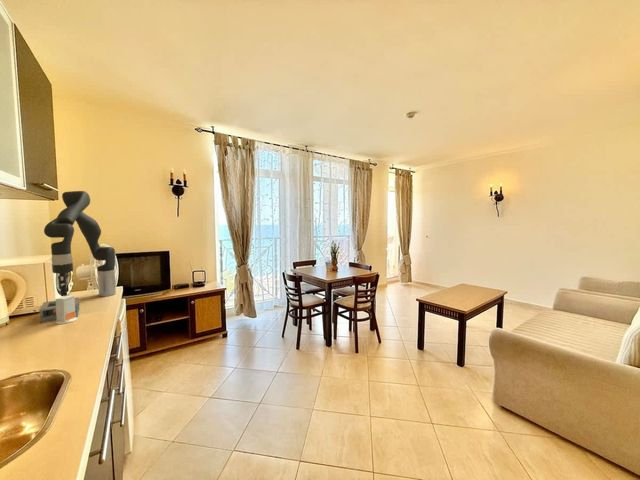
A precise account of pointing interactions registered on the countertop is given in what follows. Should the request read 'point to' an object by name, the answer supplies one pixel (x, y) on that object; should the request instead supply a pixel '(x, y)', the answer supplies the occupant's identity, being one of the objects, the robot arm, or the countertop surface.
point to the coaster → (67, 321)
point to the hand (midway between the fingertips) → (65, 293)
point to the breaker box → (48, 308)
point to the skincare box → (65, 308)
